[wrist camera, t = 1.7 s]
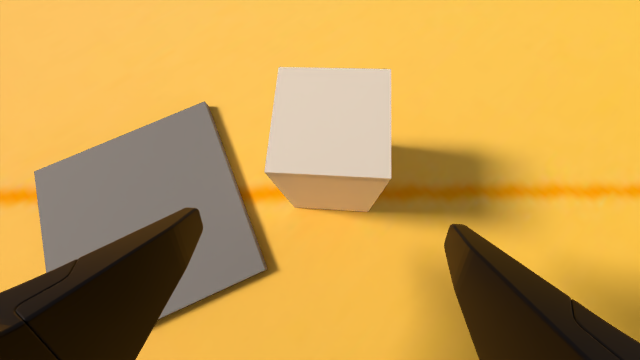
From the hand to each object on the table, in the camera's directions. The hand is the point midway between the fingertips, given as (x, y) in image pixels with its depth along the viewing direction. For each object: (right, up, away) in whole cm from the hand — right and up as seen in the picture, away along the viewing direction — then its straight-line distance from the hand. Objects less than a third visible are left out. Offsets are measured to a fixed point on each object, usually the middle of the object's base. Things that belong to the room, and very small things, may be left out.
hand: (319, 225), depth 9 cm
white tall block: (+1, +2, +13) cm, 13 cm away
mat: (-15, -2, +13) cm, 20 cm away
